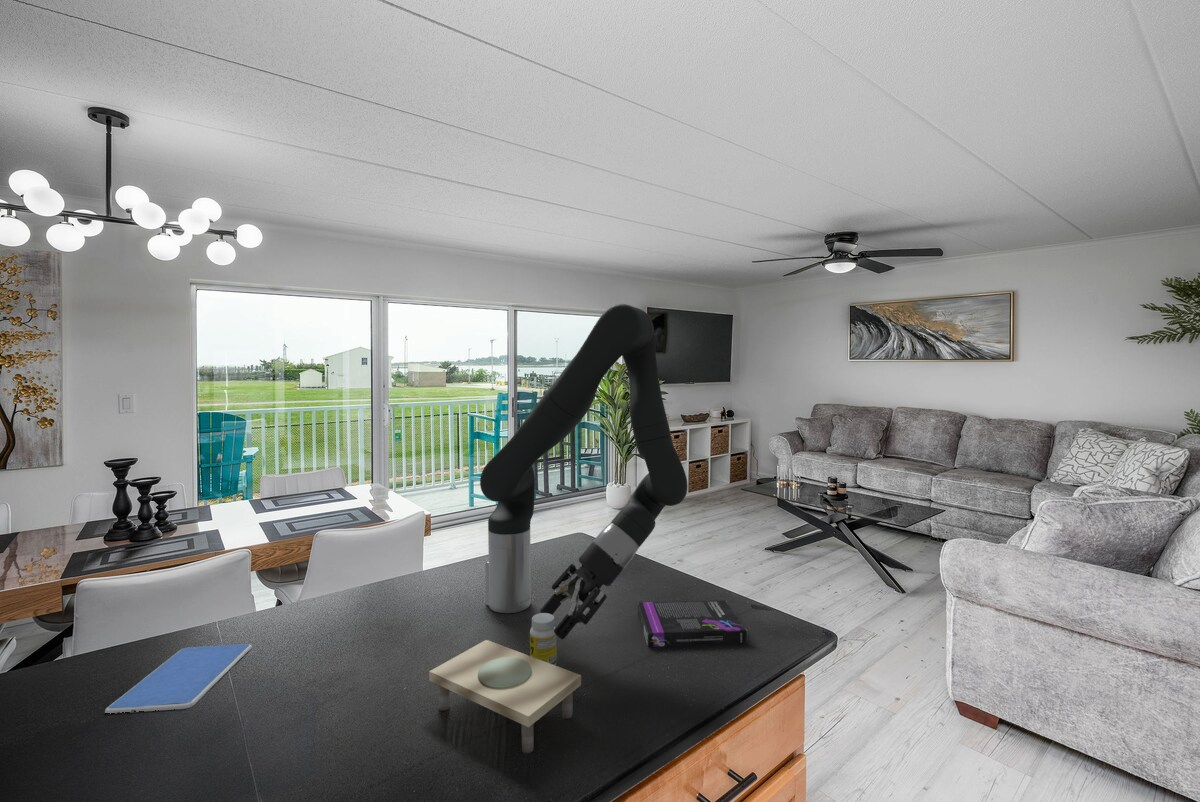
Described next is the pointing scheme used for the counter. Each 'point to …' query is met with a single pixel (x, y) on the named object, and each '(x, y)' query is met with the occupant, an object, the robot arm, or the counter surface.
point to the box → (690, 623)
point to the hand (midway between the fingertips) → (550, 625)
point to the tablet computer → (180, 679)
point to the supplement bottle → (543, 638)
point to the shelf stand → (507, 685)
